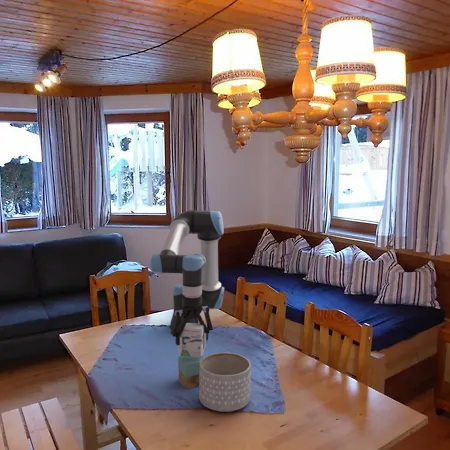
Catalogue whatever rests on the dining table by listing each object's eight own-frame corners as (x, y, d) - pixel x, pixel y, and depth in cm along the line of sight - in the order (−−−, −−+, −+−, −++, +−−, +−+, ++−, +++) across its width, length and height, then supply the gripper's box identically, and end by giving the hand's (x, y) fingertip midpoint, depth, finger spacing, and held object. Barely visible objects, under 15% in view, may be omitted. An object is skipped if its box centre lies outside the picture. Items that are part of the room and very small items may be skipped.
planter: (210, 383, 167) (210, 349, 165) (255, 392, 160) (256, 357, 158) (190, 408, 149) (190, 370, 147) (240, 420, 143) (241, 380, 141)
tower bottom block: (197, 375, 173) (197, 364, 172) (204, 384, 166) (205, 372, 165) (178, 379, 170) (178, 368, 169) (185, 389, 163) (185, 377, 162)
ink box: (179, 356, 165) (179, 327, 163) (182, 350, 170) (182, 322, 168) (201, 357, 164) (201, 328, 162) (203, 351, 169) (203, 323, 167)
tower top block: (197, 364, 172) (197, 352, 172) (204, 373, 165) (204, 360, 165) (178, 368, 169) (178, 356, 168) (185, 377, 162) (185, 364, 161)
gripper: (214, 289, 172) (213, 341, 175) (161, 295, 162) (162, 351, 165) (222, 294, 165) (221, 348, 168) (168, 301, 155) (168, 359, 158)
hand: (191, 350), depth 167 cm, fingers closed on ink box, 9 cm apart
